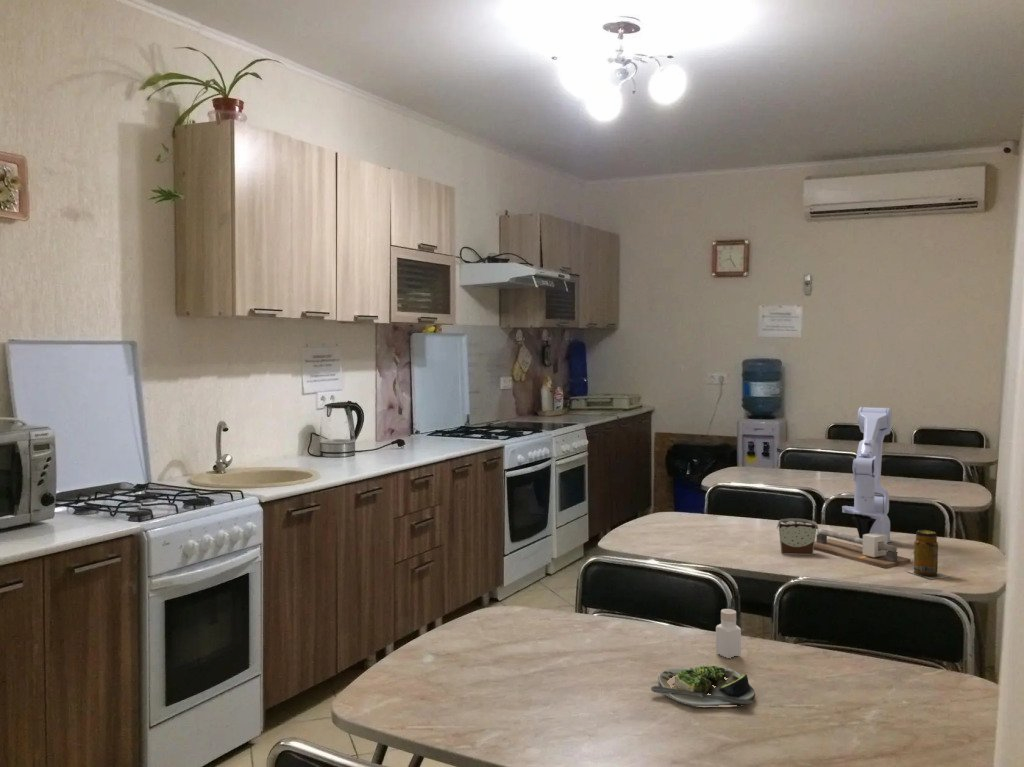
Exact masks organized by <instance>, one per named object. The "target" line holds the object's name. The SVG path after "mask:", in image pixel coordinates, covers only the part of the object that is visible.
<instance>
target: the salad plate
mask: <svg viewBox="0 0 1024 767" xmlns="http://www.w3.org/2000/svg"><path fill="white" fill-rule="evenodd" d="M673 676H676V677H675V684H674V685H675V686H674V687H672V688H671V687H670V685H669V684H668V683H667V681H668V680H669V679H670V678H672V677H673ZM724 677H726V678H728V679H727V680H725V679H724ZM657 679H658V681H659V684H661V685H660V686H659V685H653V686H651V688H650V690H651V691H652V692H653V693H656V694H659V695H663V696H665V695H666V696H665V697H667V696H668V697H667V698H669V697H671V698H673V699H674V701H675V700H676V702H678V701H679V702H678V703H680V702H681V703H680V704H683V703H685V704H684V705H686V704H688V705H687V706H689V705H692V706H691V707H693V706H719V705H737V706H741V705H745V706H747V705H752V704H754V703H755V702H754V701H753V700H754V698H755V697H756V691H755V689H754V688H753V687H752V686H751V685H750V684H749V683H750V682H749V678H748V675H747V674H746V673H744V674H740V673H739V672H738V671H736V670H734V669H732V668H728V667H724V666H720V665H708V664H707V665H702V666H701V665H700V666H697V667H680V668H667V669H665V670H663V671H662V672H661V673H659V675H658V676H657ZM712 685H714V686H716V687H715V688H714V687H713V686H712ZM661 686H662V687H661ZM708 693H709V694H711V695H707V694H708ZM671 698H670V699H671ZM673 699H672V700H673ZM741 707H742V706H741Z"/></svg>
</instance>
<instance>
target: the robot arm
mask: <svg viewBox="0 0 1024 767" xmlns="http://www.w3.org/2000/svg"><path fill="white" fill-rule="evenodd" d="M892 420H893V411H892V409H891V407H867V406H865V407H864V406H860V407H859V408H858V410H857V423H858V427H859V430H860V433H862V434H863V439H862V440H860V441H859V443H858V445H857V446H858V447H857V452H856V457H855V458H853V460H852V473H853V481H854V490H853V491H854V492H853V494H854V496H853V497H854V498H853V500H854V501H853V503H854V504H853V506H851V505H850V506H848V505H842V506H841V510H842V511H841V513H843V514H850V515H851V514H852V515H854V516H852V518H851V520H852V521H853V523H854V525H855V527H856V529H857V530H856V531H857V533H858V538H862V539H863V535H864V534H869V533H874V532H877V533H881V534H886V535H887V543H891V542H893V539H891V520H890V518H889V516H888V513H889V510H890V498H889V497H890V493H889V492H888V490H887V489H886V488H885V487H883V485H881V477H882V473H881V472H882V461H883V460H882V458H883V457H882V456H883V442H884V439H885V436H888V435H890V434H891V431H892Z"/></svg>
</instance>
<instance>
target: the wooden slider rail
mask: <svg viewBox="0 0 1024 767" xmlns="http://www.w3.org/2000/svg"><path fill="white" fill-rule="evenodd" d="M816 533H817V534H816V540H815V542H814V550H813V551H818V552H821V553H825V554H829V555H833V556H838V557H841V558H845V559H848V560H852V561H855V562H856V561H857V562H860V563H863V564H867V565H871V566H875V567H879V568H881V569H882V568H883V569H888V568H891V567H897V566H900V565H901V566H902V565H906V564H909V563H911V558H908V557H904V556H899V555H898V551H897V550H898V548H897V546H896V545H892V544H891V545H890V544H888V543H887V544H883V543H879V542H878V549H882V550H886V555H883V556H878V557H871V556H867V555H863V539H862V538H859V536H853V535H849V534H845V533H841V532H840V533H839V532H836V531H831V530H828V529H823V528H819V527H818V529H816ZM828 537H830V538H828ZM831 538H835V539H831ZM836 539H838V540H836ZM839 540H840V541H839ZM841 540H842V541H841ZM843 541H847V542H843ZM848 542H851V543H854V544H851V543H848ZM855 544H858V545H860V546H858V545H855ZM861 545H862V546H861Z"/></svg>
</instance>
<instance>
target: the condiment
mask: <svg viewBox="0 0 1024 767" xmlns="http://www.w3.org/2000/svg"><path fill="white" fill-rule="evenodd" d="M937 537H938V533H937V532H935V531H933V530H927V529H919V530H917V531H916V532H915V540H914V542H913V546H914V547H913V570H906V572H908V573H911V574H913V575H916V576H921V577H923V578H927V579H930V580H935V579H943V578H948V577H949V578H950V577H951V576H950V575H946V574H944V573H942V572H938V568H939V566H938V565H939V564H938V563H939V562H938V560H939V558H938V557H939V543H938V542H937V540H938V538H937Z"/></svg>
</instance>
